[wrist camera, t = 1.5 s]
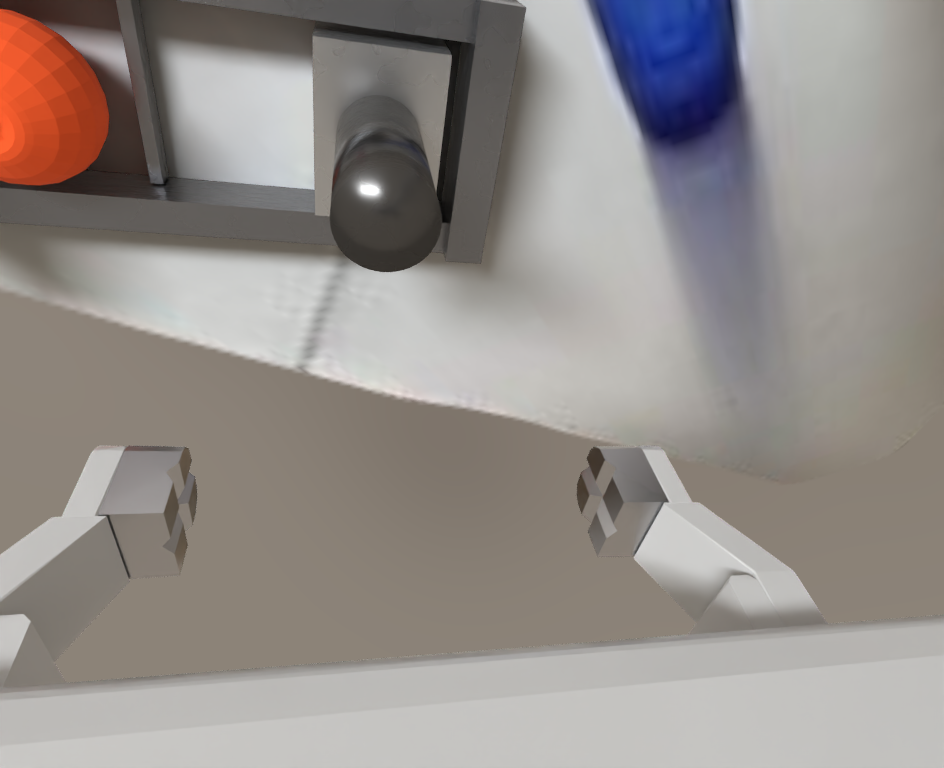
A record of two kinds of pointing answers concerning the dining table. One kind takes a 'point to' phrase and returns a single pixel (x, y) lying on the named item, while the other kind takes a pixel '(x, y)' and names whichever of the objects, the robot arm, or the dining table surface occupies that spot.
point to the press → (290, 209)
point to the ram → (379, 141)
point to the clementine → (46, 105)
